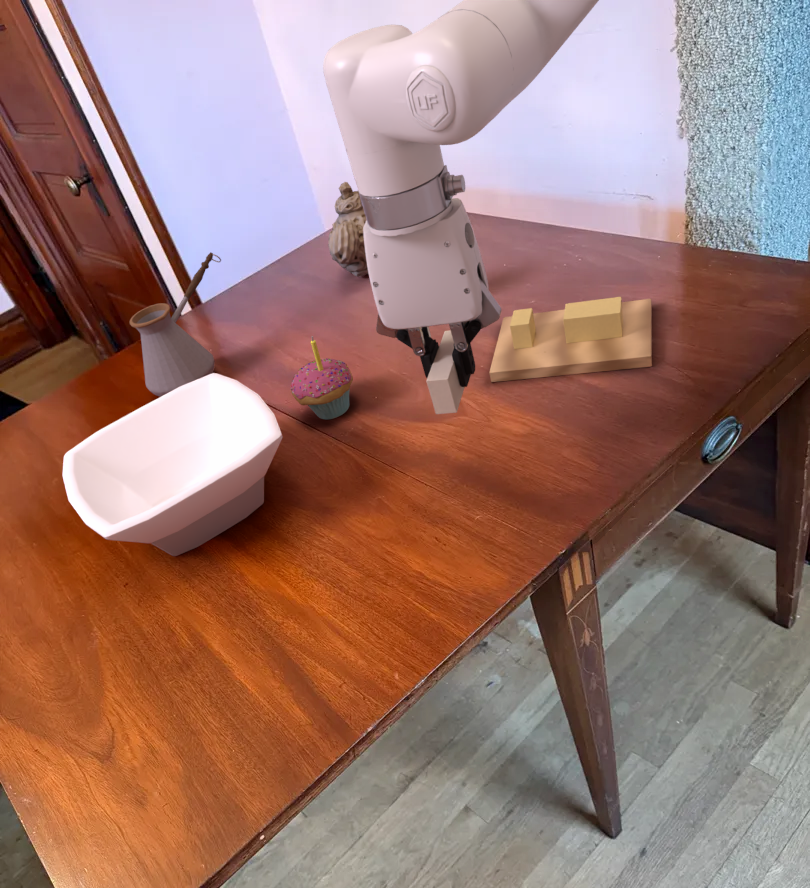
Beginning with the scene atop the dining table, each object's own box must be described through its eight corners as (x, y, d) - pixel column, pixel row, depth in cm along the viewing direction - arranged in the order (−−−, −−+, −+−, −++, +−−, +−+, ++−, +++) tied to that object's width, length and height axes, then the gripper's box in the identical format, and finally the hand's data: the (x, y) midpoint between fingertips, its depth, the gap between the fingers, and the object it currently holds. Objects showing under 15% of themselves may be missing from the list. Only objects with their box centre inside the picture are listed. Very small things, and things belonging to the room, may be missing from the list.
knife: (456, 412, 74) (447, 378, 71) (435, 414, 74) (426, 380, 72) (487, 312, 86) (481, 280, 83) (469, 315, 87) (462, 283, 84)
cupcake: (374, 399, 102) (347, 321, 94) (331, 435, 99) (299, 356, 91) (333, 386, 108) (304, 311, 100) (291, 420, 104) (257, 345, 96)
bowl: (329, 498, 89) (299, 429, 82) (140, 614, 83) (91, 550, 76) (252, 423, 106) (222, 361, 99) (91, 515, 100) (47, 456, 93)
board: (651, 308, 100) (651, 298, 99) (651, 366, 91) (651, 356, 90) (505, 326, 107) (503, 317, 106) (491, 382, 98) (489, 372, 97)
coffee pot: (185, 412, 114) (136, 324, 104) (140, 402, 120) (90, 318, 110) (274, 337, 124) (238, 251, 114) (229, 331, 131) (190, 249, 121)
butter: (623, 320, 97) (621, 296, 95) (622, 337, 95) (620, 312, 92) (568, 327, 100) (565, 303, 97) (566, 343, 97) (563, 319, 95)
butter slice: (536, 331, 101) (532, 307, 99) (532, 347, 98) (528, 323, 96) (517, 333, 102) (513, 310, 100) (514, 349, 99) (509, 325, 97)
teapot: (379, 294, 126) (351, 205, 116) (320, 299, 130) (289, 214, 120) (420, 236, 139) (398, 151, 129) (365, 242, 144) (340, 161, 134)
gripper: (504, 165, 64) (535, 352, 76) (335, 198, 69) (389, 367, 82) (490, 202, 59) (525, 395, 71) (309, 234, 64) (371, 408, 77)
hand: (452, 379), depth 76 cm, fingers closed on knife, 2 cm apart
